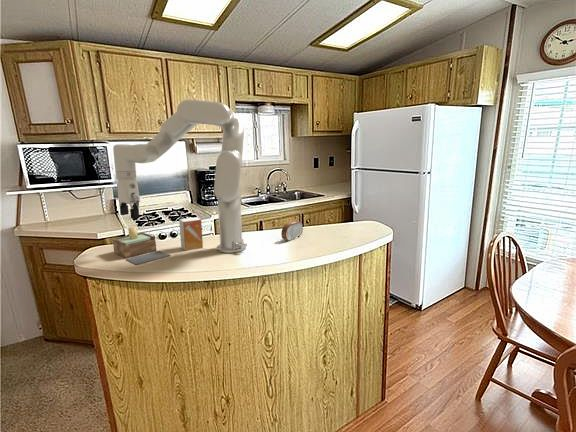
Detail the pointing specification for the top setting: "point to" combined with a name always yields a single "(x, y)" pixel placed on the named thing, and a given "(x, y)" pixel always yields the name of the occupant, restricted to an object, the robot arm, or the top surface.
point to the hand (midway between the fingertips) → (129, 216)
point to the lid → (134, 237)
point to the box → (134, 247)
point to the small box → (191, 233)
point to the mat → (147, 257)
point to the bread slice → (292, 230)
